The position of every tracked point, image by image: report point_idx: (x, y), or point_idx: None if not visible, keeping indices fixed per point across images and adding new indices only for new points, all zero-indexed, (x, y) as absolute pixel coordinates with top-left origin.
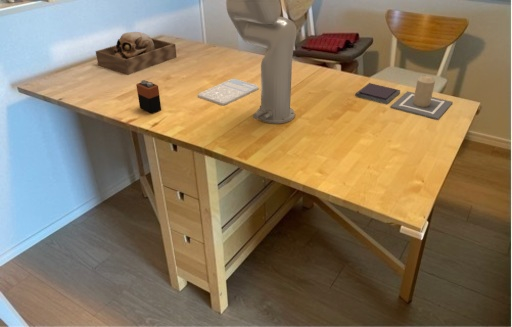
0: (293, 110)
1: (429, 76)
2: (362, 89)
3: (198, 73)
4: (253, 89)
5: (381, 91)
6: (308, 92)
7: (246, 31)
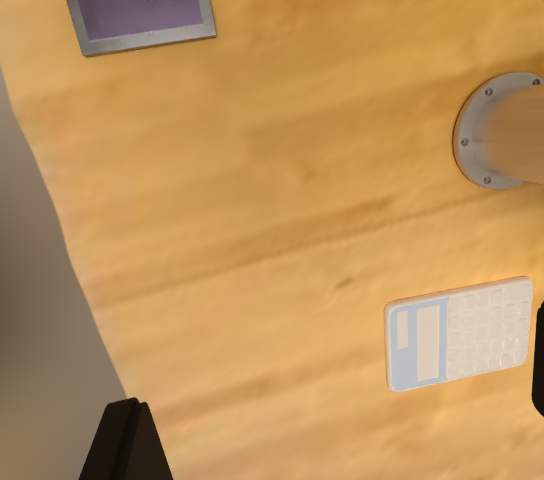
0: (472, 102)
1: None
2: (163, 35)
3: (406, 476)
4: (414, 300)
5: None
6: (306, 183)
7: None
